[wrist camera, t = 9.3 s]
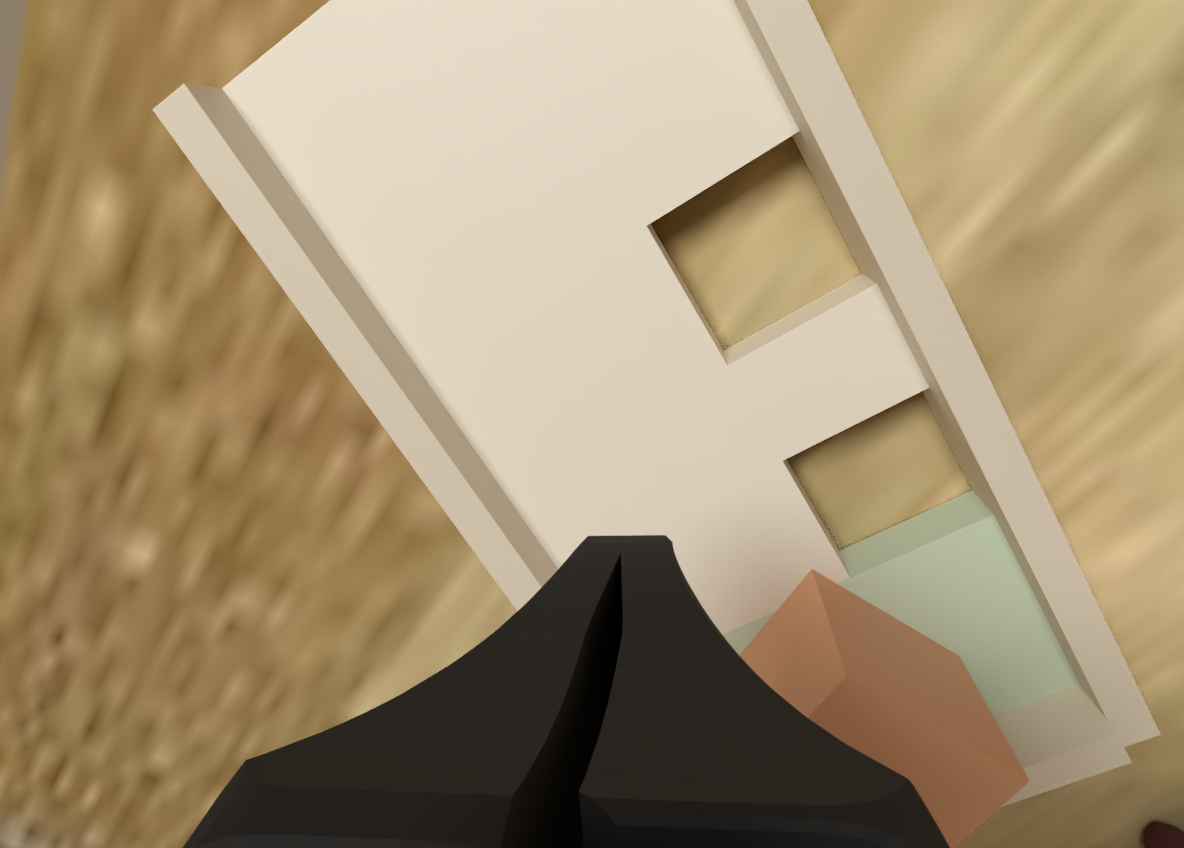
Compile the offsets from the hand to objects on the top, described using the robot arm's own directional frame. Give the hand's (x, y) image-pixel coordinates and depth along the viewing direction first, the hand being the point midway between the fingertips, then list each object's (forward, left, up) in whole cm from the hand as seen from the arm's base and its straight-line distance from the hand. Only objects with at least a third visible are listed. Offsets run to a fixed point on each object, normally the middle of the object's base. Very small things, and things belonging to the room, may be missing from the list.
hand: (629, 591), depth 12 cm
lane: (-1, -1, -10) cm, 10 cm away
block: (-10, -1, -8) cm, 13 cm away
